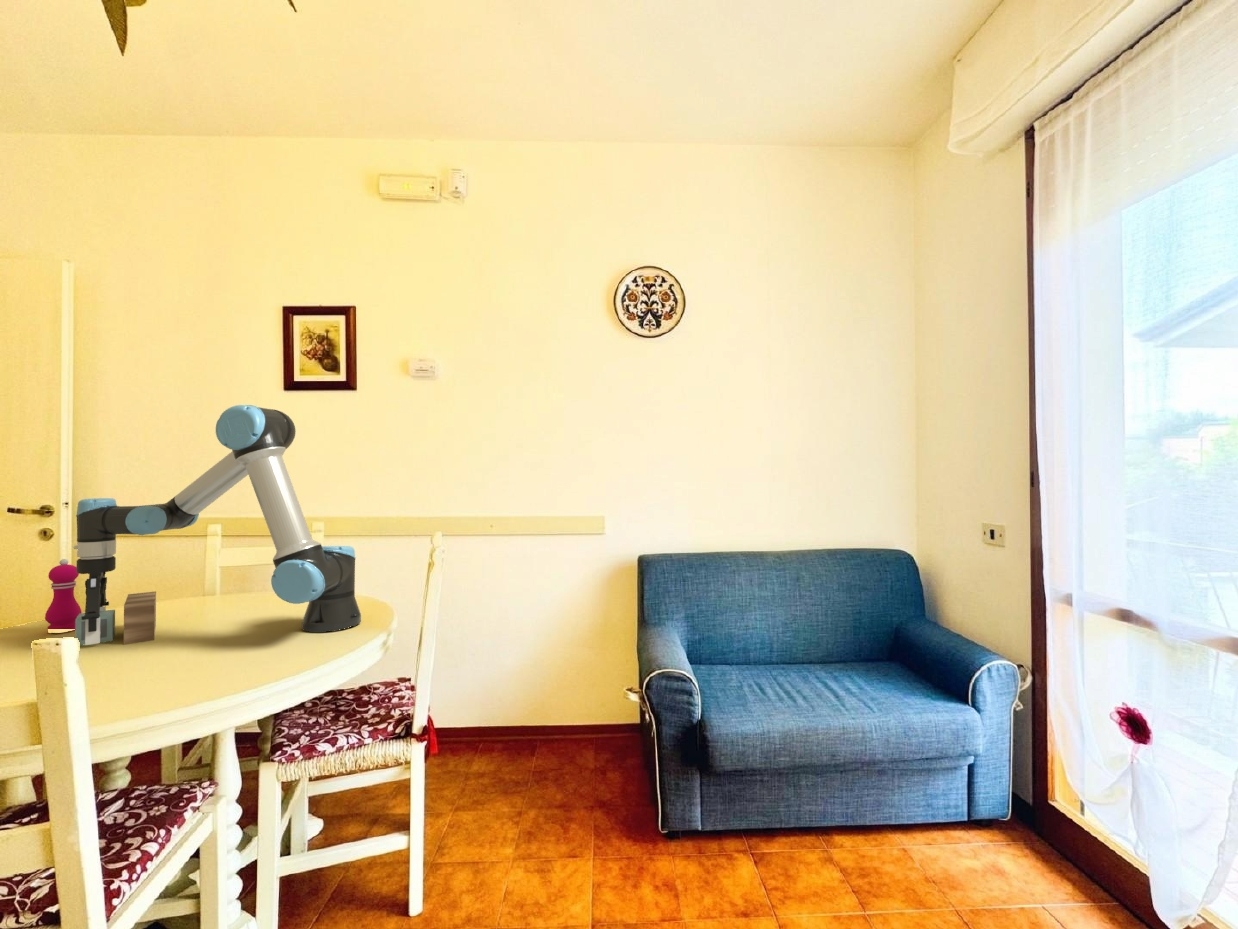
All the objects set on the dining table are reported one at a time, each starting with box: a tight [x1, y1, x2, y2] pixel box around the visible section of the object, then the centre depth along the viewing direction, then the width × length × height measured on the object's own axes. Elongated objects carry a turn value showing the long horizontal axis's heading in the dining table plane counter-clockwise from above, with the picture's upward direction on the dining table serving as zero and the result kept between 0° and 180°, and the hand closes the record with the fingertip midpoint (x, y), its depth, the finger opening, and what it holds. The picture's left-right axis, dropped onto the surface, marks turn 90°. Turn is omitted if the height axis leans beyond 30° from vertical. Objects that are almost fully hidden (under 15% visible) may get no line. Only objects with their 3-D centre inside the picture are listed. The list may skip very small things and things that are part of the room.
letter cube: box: [74, 609, 116, 647], centre depth 146 cm, size 7×7×7 cm
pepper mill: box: [44, 558, 82, 629], centre depth 154 cm, size 7×7×20 cm
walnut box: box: [123, 591, 157, 645], centre depth 151 cm, size 16×6×10 cm, turn 39°
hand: (95, 637), depth 146 cm, fingers open, 13 cm apart
